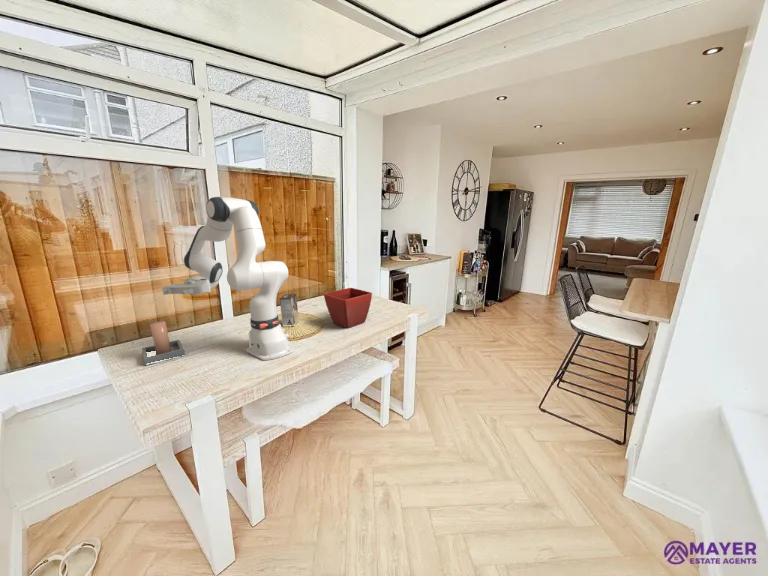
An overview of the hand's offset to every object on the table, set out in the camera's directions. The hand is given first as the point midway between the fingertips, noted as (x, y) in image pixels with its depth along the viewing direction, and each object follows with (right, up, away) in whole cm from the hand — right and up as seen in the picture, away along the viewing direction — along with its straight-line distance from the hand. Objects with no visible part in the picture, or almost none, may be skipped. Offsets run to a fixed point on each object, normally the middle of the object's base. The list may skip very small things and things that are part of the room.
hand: (173, 292), depth 145 cm
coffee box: (+45, -18, +29) cm, 57 cm away
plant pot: (+77, -17, +29) cm, 84 cm away
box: (-1, -27, -5) cm, 28 cm away
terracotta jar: (-1, -27, -5) cm, 27 cm away
